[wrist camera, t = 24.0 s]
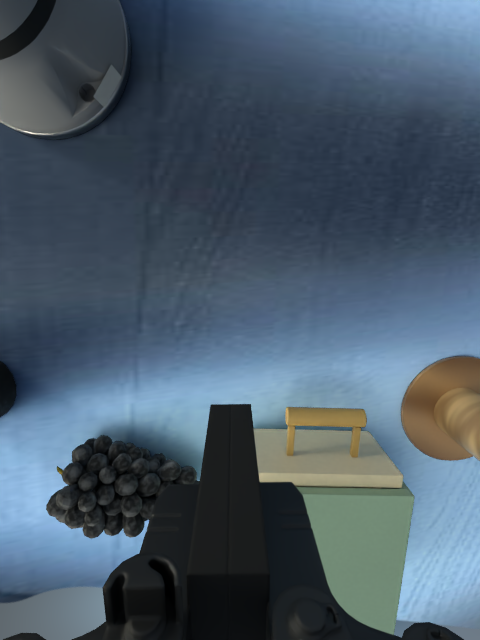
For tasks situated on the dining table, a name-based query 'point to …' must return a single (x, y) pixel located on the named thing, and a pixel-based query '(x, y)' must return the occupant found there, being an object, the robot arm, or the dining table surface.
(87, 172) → the dining table surface
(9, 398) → the wine bottle
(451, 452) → the cork coaster
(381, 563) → the cabinet
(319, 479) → the drawer
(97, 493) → the fruit
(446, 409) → the pepper mill
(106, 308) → the dining table surface
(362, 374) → the dining table surface
